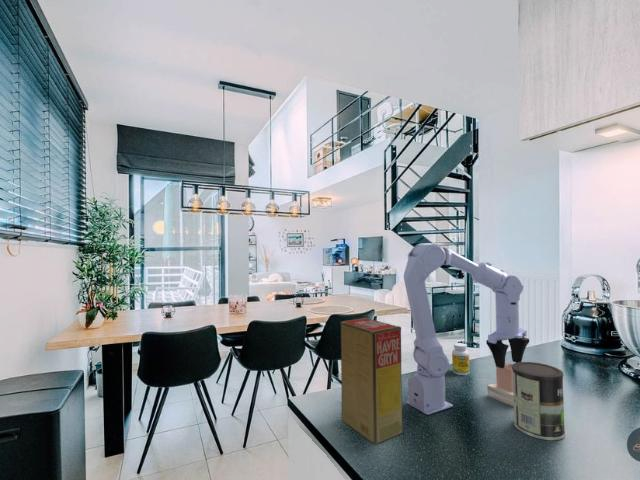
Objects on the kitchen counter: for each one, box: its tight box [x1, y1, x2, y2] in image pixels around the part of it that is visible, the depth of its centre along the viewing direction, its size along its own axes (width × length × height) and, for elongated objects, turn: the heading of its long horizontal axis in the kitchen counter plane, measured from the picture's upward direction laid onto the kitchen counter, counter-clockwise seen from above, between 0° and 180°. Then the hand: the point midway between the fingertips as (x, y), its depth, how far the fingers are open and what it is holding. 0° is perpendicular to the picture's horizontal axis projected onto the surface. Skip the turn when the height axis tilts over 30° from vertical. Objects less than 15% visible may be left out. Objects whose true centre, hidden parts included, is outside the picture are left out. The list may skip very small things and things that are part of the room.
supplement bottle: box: [451, 342, 471, 376], centre depth 116 cm, size 5×5×10 cm
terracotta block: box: [495, 362, 514, 392], centre depth 96 cm, size 4×4×6 cm
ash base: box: [486, 381, 514, 408], centre depth 96 cm, size 8×8×3 cm
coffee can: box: [512, 361, 566, 442], centre depth 80 cm, size 10×10×14 cm
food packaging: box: [340, 317, 404, 446], centre depth 83 cm, size 13×9×25 cm
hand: (508, 364), depth 96 cm, fingers open, 7 cm apart
